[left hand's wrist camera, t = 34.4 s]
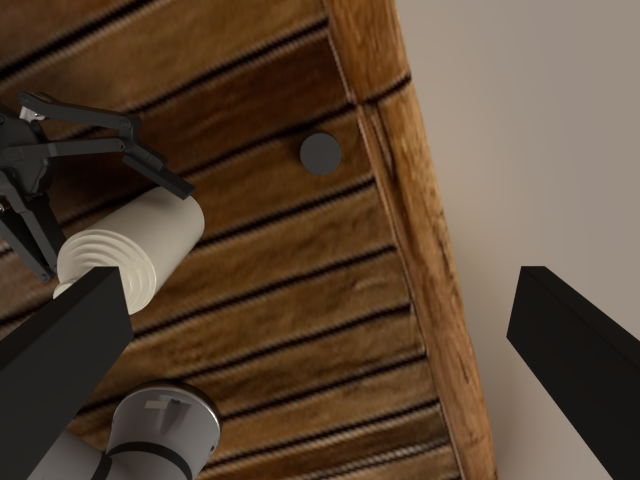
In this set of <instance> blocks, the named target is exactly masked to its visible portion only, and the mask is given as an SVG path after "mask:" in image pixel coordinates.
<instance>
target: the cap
mask: <svg viewBox="0 0 640 480" xmlns="http://www.w3.org/2000/svg"><path fill="white" fill-rule="evenodd" d="M300 158H301V162H302V164H303V166H304V167H305V168H306V169H307V170H308V171H310V172H311V173H314V174H318V175H323V174H327V173H330V172H331V171H333V170H334V169H335V168H336V167H337V165H338V164H339V162H340V158H341V150H340V146H339V144H338V142H337V140H336V139H335V138H334V137H333V136H332V135H331V134H329V133H326V132H315V133H312V134H310V135H309V136H308V137H306V139H305V140H304V141H303V143H302V146H301V149H300Z"/></svg>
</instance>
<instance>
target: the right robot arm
mask: <svg viewBox="0 0 640 480" xmlns="http://www.w3.org/2000/svg"><path fill="white" fill-rule="evenodd" d="M17 101H18V102H19V104H20V105H22V109H21V113H20V116H19V115H17V113H16V112H14V111H13V110H11V109H10V108H8V107H7V106H5V105H3V104H2V103H0V235H1V236H2V237H3V238H4V240H5V241H6V242H7V243H8V244H9V245H10V246H11V247H12V249H13V250H14V251H15V252H16V253H17V254H18V255H19V257H20V258H21V259H22V260H23V261H24V262H25V263H26V264H27V266H28V267H29V268H30V269H31V270H32V271H33V272H34V274H35V275H36V276H37V277H38V278H39V279H40V280H41V281H43V282H48V281H50V280H51V279H53V278H54V277H55V276H57V275H58V273H57V260H58V255H59V252H60V249H61V248H62V246H63V244H64V243H65V242H66V241H67V239H66V237H65V235H64V234H63V232H62V230H61V228H60V226H59V224H58V222H57V220H56V218H55V216H54V214H53V213H52V211H51V209H50V207H49V197H48V195H47V194H46V192H45V190H47V189H49V188H50V186H51V184H52V178H53V175H54V174H55V173H56V172H57V171H58V169H59V167H60V165H61V164H60V163H58V156H64V155H77V154H91V153H104V152H117V151H119V152H122V151H125V152H127V153H126V154H125V155H124V157H123V159H122V160H121V161H123V162H124V163H126V164H127V165H129V166H131V167H132V168H134V169H135V170H137V171H138V172H140V173H141V174H143V175H145V176H146V177H148V178H149V179H151V180H152V181H154V182H155V183H157V184H159V185H160V186H162V187H163V188H165V189H166V190H168V191H169V192H171V193H172V194H174V195H176V196H177V197H179V198H180V199H182V200H183V201H184V200H185V199H186V198H187V197H189V196H190V195H191V194H192V193H193V192H194V190H195V188H196V187H194V186H193V185H191V184H189V183H188V182H186V181H185V180H183V179H182V178H180V177H179V176H177V175H176V174H174V173H173V172H171V171H170V170H168V169H167V168H165V167H166V165H167V163H168V160H167V159H166V158H165V157H164V156H163V155H161V154H159V153H158V152H157V151H155V150H154V149H152V148H151V147H149V146H148V145H146V144H145V143H143V142H142V141H141V140H140V138H139V127H140V126H141V125H142V120H141V118H140V117H139V116H137V115H133V114H127V113H122V112H116V111H110V110H104V109H98V108H92V107H87V106H81V105H75V104H69V103H63V102H60V101H58V100H56V99H55V98H53V97H51V96H49V95H47V94H45V93H43V92H20V93H18V95H17ZM50 118H54V119H60V120H65V121H71V122H77V123H83V124H89V125H95V126H101V127H107V128H113V129H119V134H118V136H109V137H96V138H83V139H65V140H52V141H49V140H48V138H47V136H46V135H45V133H44V131H43V129H42V128H41V126H40V124H39V123H38V122H37V121H38V120H46V119H50ZM5 196H6V197H7V198H8V200H9V201H6V199H5ZM24 196H32V200H30V201H28V202H27V201H26V199H25V197H24ZM11 206H12V207H11ZM20 214H21V215H22V216H21V215H20Z"/></svg>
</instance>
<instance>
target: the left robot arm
mask: <svg viewBox="0 0 640 480" xmlns="http://www.w3.org/2000/svg"><path fill="white" fill-rule="evenodd" d="M133 337H134V336H133V331H132V326H131V322H130V317H129V312H128V308H127V303H126V298H125V294H124V289H123V284H122V279H121V275H120V270H119V266H95V267H94V268H92V269H91V270H90V271H89V272H87V273H86V274H85V275H83V276H82V277H81V278H80V279H78V280H77V281H76V282H75V283H73V284H72V285H71V286H70V287H68V288H67V289H66V290H64V291H63V292H62V293H61V294H59V295H58V296H57V297H56V298H54V299H53V300H52V301H51V302H49V303H48V304H47V305H45V306H44V307H43V308H42V309H40V310H39V311H38V312H37V313H35V314H34V315H33V316H32V317H30V318H29V319H28V320H26V321H25V322H24V323H23V324H21V325H20V326H19V327H18V328H16V329H15V330H14V331H13V332H11V333H10V334H9V335H7V336H6V337H5V338H4V339H2V340H1V341H0V480H194V479H195V477H196V476H197V475H198V473H199V472H200V470H201V469H202V468H203V466H204V465H205V463H206V462H207V460H208V459H209V458H210V456H211V455H212V454H213V452H214V451H215V449H216V447H217V445H218V442H219V439H220V435H221V432H222V418H221V415H220V412H219V410H218V408H217V407H216V405H215V404H214V403H213V401H212V400H211V399H210V398H209V397H207V396H206V395H205V394H204V393H202V392H201V391H199V390H198V389H196V388H194V387H191V386H189V385H186V384H183V383H179V382H174V381H152V382H148V383H144V384H141V385H139V386H137V387H135V388H134V389H132V390H131V391H130V392H128V393H127V394H126V396H125V397H124V398H123V400H122V401H121V403H120V404H119V406H118V408H117V409H116V411H115V414H114V417H113V422H112V431H111V435H110V439H109V443H108V447H107V451H106V454H104V453H102V452H101V451H100V450H98V449H97V448H95V447H93V446H92V445H90V444H89V443H87V442H86V441H84V440H83V439H81V438H79V437H78V436H76V435H75V434H73V433H72V432H70V431H68V430H67V429H65V428H66V427H67V425H68V424H69V423H70V421H71V420H72V419H73V417H74V416H75V415H76V413H77V412H78V411H79V409H80V408H81V407H82V405H83V404H84V403H85V401H86V400H87V399H88V397H89V396H90V395H91V393H92V392H93V391H94V389H95V388H96V387H97V385H98V384H99V383H100V381H101V380H102V379H103V377H104V376H105V375H106V373H107V372H108V371H109V369H110V368H111V367H112V365H113V364H114V363H115V361H116V360H117V359H118V357H119V356H120V355H121V353H122V352H123V351H124V349H125V348H126V347H127V345H128V344H129V343H130V341H131V340H132V339H133ZM506 337H507V339H508V340H509V341H510V343H511V344H512V345H513V347H514V348H515V349H516V351H517V352H518V353H519V355H520V356H521V357H522V359H523V360H524V361H525V363H526V364H527V365H528V367H529V368H530V369H531V371H532V372H533V373H534V375H535V376H536V377H537V379H538V380H539V381H540V383H541V384H542V385H543V387H544V388H545V389H546V391H547V392H548V393H549V395H550V396H551V397H552V399H553V400H554V401H555V403H556V404H557V405H558V407H559V408H560V409H561V411H562V412H563V413H564V415H565V416H566V417H567V419H568V420H569V421H570V423H571V424H572V425H573V427H574V428H575V429H576V431H577V432H578V433H579V435H580V436H581V437H582V439H583V440H584V441H585V443H586V444H587V445H588V447H589V448H590V449H591V451H592V452H593V453H594V455H595V456H596V457H597V459H598V460H599V461H600V463H601V464H602V465H603V467H604V468H605V469H606V471H607V472H608V473H609V475H610V476H611V477H612V479H613V480H640V341H639V340H638V339H636V338H635V337H634V336H633V335H631V334H630V333H629V332H627V331H626V330H625V329H624V328H622V327H621V326H620V325H619V324H617V323H616V322H615V321H614V320H612V319H611V318H610V317H608V316H607V315H606V314H605V313H603V312H602V311H601V310H600V309H598V308H597V307H596V306H595V305H593V304H592V303H591V302H589V301H588V300H587V299H586V298H584V297H583V296H582V295H581V294H579V293H578V292H577V291H576V290H574V289H573V288H572V287H570V286H569V285H568V284H567V283H565V282H564V281H563V280H562V279H560V278H559V277H558V276H557V275H555V274H554V273H553V272H551V271H550V270H549V269H548V268H546V267H545V266H521V270H520V275H519V280H518V284H517V289H516V294H515V298H514V303H513V308H512V312H511V317H510V322H509V326H508V331H507V336H506Z"/></svg>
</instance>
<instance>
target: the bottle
mask: <svg viewBox="0 0 640 480" xmlns="http://www.w3.org/2000/svg"><path fill="white" fill-rule="evenodd" d="M203 230H204V216H203V213H202V210H201V208H200V206H199V205H198V203H197V202H196V201H195V200H194V199H193V198H192V197H191V196H189V197H187V198H186V199H185V200H184V201H183V200H182V199H180V198H179V197H177V196H176V195H174V194H172V193H171V192H169V191H168V190H166V189H165V188H163V187H162V186H161V187H156V188H153V189H151V190H149V191H147V192H145V193H144V194H142V195H140V196H139V197H137V198H135V199H134V200H132V201H130V202H128V203H127V204H125V205H123V206H122V207H120V208H118V209H117V210H115V211H113V212H112V213H110V214H108V215H107V216H105V217H103V218H102V219H100V220H98V221H96V222H95V223H93V224H91V225H90V226H88V227H86V228H85V229H83V230H81V231H80V232H78V233H76V234H75V235H73V236H72V237H70V238H69V239H68V240H67V241H66V242H65V243H64V244H63V246H62V248H61V249H60V252H59V255H58V260H57V273H58V277H59V281H60V283H61V284H59V285H58V286H57V287H56V289H55V291H54V295H53V299H54V298H56V297H57V296H58V295H59V294H61V293H62V292H63V291H64V290H66V289H67V288H68V287H70V286H71V285H72V284H73V283H75V282H76V281H77V280H78V279H80V278H81V277H82V276H83V275H85V274H86V273H87V272H89V271H90V270H91V269H92V268H94V267H95V266H119V270H120V275H121V279H122V284H123V289H124V294H125V298H126V303H127V308H128V312H129V315H130V314H133V313H135V312H137V311H139V310H141V309H142V308H144V307H145V306H146V305H147V304H148V303H149V302H150V301H151V299H152V298H153V297H154V296H155V294H156V293H157V292H158V291H159V289H160V288H161V287H162V286H163V284H164V283H165V282H166V281H167V279H168V278H169V277H170V276H171V274H172V273H173V272H174V271H175V269H176V268H177V267H178V266H179V264H180V263H181V262H182V261H183V259H184V258H185V257H186V256H187V254H188V253H189V252H190V251H191V249H192V248H193V247H194V246H195V244H196V243H197V242H198V241H199V239H200V238H201V236H202V234H203Z"/></svg>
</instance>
